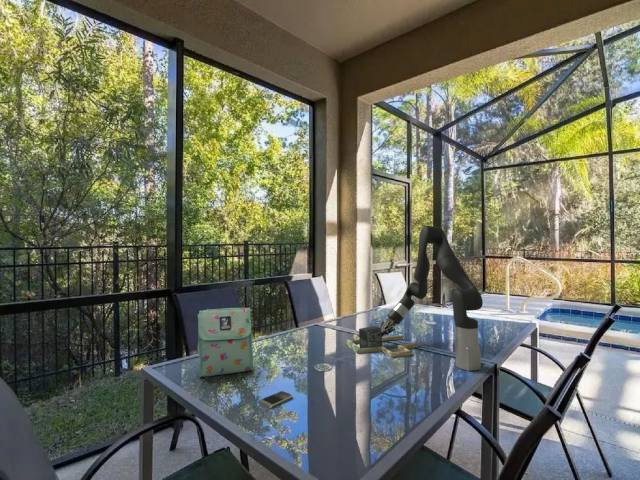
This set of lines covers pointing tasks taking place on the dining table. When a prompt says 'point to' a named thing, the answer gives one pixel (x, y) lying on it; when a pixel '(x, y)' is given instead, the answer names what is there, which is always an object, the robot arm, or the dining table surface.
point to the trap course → (397, 352)
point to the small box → (370, 337)
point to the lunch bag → (224, 341)
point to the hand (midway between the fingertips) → (377, 338)
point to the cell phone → (275, 399)
